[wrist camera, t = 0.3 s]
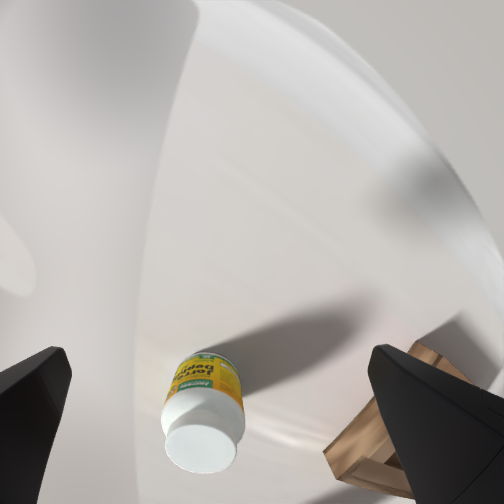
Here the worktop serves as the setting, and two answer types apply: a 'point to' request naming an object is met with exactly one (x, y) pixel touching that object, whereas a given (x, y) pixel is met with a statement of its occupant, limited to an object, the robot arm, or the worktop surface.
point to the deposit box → (377, 443)
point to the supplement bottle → (204, 414)
